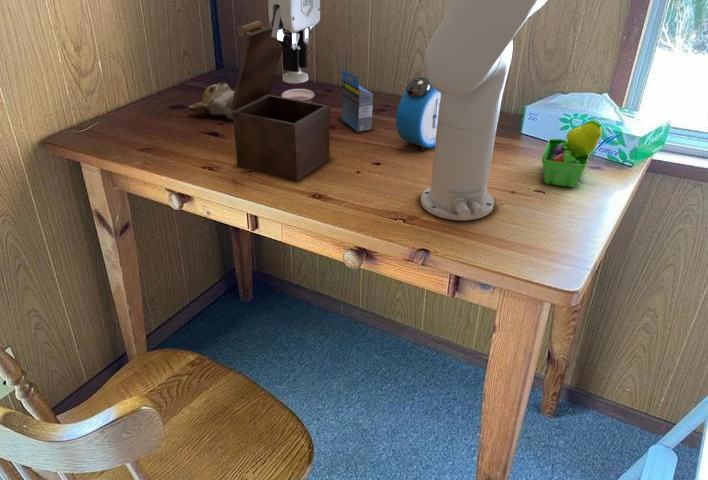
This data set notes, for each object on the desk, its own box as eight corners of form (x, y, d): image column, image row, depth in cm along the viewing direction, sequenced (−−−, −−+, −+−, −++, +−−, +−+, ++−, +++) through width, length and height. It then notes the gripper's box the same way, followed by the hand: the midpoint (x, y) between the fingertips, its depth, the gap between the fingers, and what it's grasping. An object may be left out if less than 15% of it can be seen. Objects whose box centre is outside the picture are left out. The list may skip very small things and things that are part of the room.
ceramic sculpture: (224, 89, 138) (179, 83, 147) (229, 126, 143) (185, 118, 151) (255, 78, 145) (210, 72, 154) (259, 114, 150) (215, 106, 158)
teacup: (273, 113, 151) (271, 88, 147) (321, 110, 151) (321, 85, 148) (276, 130, 141) (274, 104, 137) (327, 127, 141) (327, 101, 138)
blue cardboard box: (372, 130, 139) (374, 75, 132) (357, 132, 138) (358, 77, 131) (355, 117, 146) (356, 65, 139) (340, 120, 145) (340, 67, 138)
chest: (329, 159, 126) (329, 105, 120) (297, 181, 118) (294, 125, 112) (272, 146, 133) (269, 94, 127) (237, 166, 125) (232, 112, 119)
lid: (290, 21, 116) (268, 8, 117) (251, 35, 108) (228, 21, 109) (270, 93, 127) (251, 80, 128) (233, 110, 118) (213, 97, 120)
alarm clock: (416, 157, 126) (422, 84, 118) (392, 149, 130) (396, 77, 121) (453, 139, 133) (461, 69, 125) (430, 132, 137) (436, 63, 129)
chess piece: (314, 78, 114) (313, 21, 108) (296, 85, 111) (294, 26, 105) (294, 74, 117) (292, 18, 111) (276, 80, 114) (274, 23, 108)
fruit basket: (544, 161, 122) (555, 106, 116) (591, 168, 119) (606, 111, 112) (535, 185, 114) (548, 126, 107) (587, 193, 111) (602, 133, 104)
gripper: (283, -36, 95) (287, 83, 105) (335, -49, 106) (334, 60, 116) (245, -39, 98) (253, 77, 109) (299, -51, 109) (301, 55, 120)
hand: (295, 67), depth 112 cm, fingers closed on chess piece
